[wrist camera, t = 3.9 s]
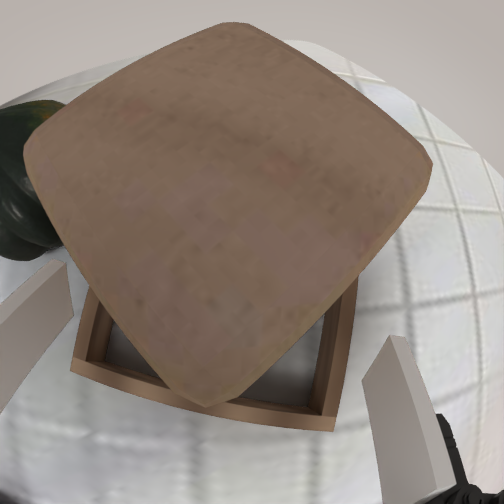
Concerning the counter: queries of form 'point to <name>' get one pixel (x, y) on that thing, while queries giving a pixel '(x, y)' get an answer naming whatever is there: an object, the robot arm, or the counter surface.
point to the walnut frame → (241, 409)
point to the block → (223, 200)
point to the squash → (22, 185)
